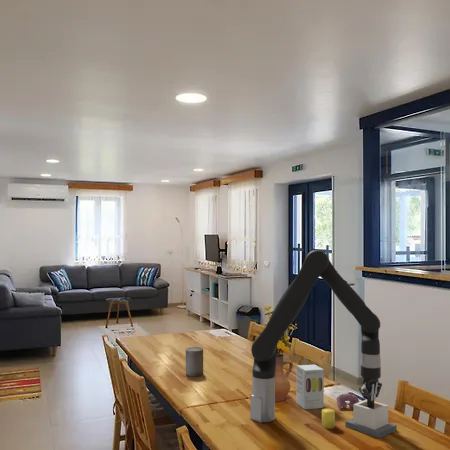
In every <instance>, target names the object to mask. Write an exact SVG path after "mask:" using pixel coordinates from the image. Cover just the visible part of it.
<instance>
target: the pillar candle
mask: <svg viewBox="0 0 450 450" xmlns="http://www.w3.org/2000/svg"><path fill="white" fill-rule="evenodd" d="M186 374H187V375H186ZM202 374H203V375H204V348H203V347H199V346H190V347H187V348H185V375H186V376H188V375H190V376H189V377H199V376H198V375H200V376H203V375H202Z"/></svg>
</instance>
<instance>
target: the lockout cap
mask: <svg viewBox="0 0 450 450" xmlns="http://www.w3.org/2000/svg"><path fill="white" fill-rule="evenodd" d="M335 413H336V411H335V410H334V409H332V408H321V427H322V428H324V429H328V430H329V429H330V430H331V429H334V428H335V426H336V425H335V424H336V423H335V421H336V419H335V417H336V414H335Z"/></svg>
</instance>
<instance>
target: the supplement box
mask: <svg viewBox="0 0 450 450" xmlns="http://www.w3.org/2000/svg"><path fill="white" fill-rule="evenodd" d="M324 380H325V369H324V368H322V367H321V366H318V365H316V364H301V365H299V364H297V365H296V385H295V386H296V388H295V389H296V390H295V391H296V393H295V395H296V396H295V402H296V404H297V405H298V406H300V407H301V408H303V410H311V409H313V410H314V409H324V404H325V403H324V399H325V397H324V393H325V392H324V388H325V387H324V386H325V381H324Z"/></svg>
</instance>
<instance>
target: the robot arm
mask: <svg viewBox="0 0 450 450" xmlns="http://www.w3.org/2000/svg"><path fill="white" fill-rule="evenodd" d="M319 278H321V279H322V280H323V281H324V282H325V283H326V284H327V285H328V287H329V288H330V289H331V290H332V293H334V295H335V296H336V298H337V299H338V300H339V301H340V303H341V304H342V305H343V306H344V307H345V309H346V310H347V311H348V312H349V313H350V314H351V315H352V316H353V317H354V319H355V320H356V321H357V323H358V324H359V325H360V333H361V342H360V343H361V346H360V350H361V355H360V376H361V377H362V378H363V379H362V386H361V387H359V388H358V390H359V392H360V394H361V397H362V398H363V399H364V400H367V407H368V408H371V409H374V402H375V401H376V399H377V398H378V397H379V394H380V392H381V389H382V386H383V383H382V382H379V381H380V380H379V379H380V378H381V377H382V375H381V374H382V367H381V366H382V364H381V363H382V362H381V360H382V359H381V347H380V346H381V344H380V339H379V337H380V336H379V335H380V334H379V331H380V328H381V320H380V318H379V317H378V315H376V314H375V312H373V311H372V310H371V309H370V308H369V306H367V305H366V303H365V301H364V300H363V298H361V296H360V295H359V294H358V293H357V292H356V291H355V289H354V288H353V287H351V285H349V283H348V282H347V281H346V280H345V279H344V278H343V277H342V276H341V275H340V273H339V272H338V270H336V268H335V267H334V266H333V264H332V262H331V261H330V259H329V256H328V254H327V253H326V252H325V251H323V250H321V249H313V250H311V251H310V252H308V253H307V255H306V257H305V258H304V261H303V263H302V266H301V267H300V270H299V272H298V273H297V275H296V276H295V278H294V280H293V281H292V282H291V283H290V284H289V286H288V287H287V289H285V291H284V292H283V294H282V296H281V297H280V299H279V300H278V302H277V304H276V305H275V307H274V310H273V312H272V313H271V315H270V317H269V320H268V322H267V324H266V325H265V328H264V329H263V330H262V331H261V333H260V334H259V336H258V337H256V339H255V340H254V341H253V343H252V345H251V356H252V357H253V364H252V365H253V367H252V375H251V376H252V379H251V380H252V382H251V383H252V384H251V385H252V391H251V393H252V394H251V395H250V417H249V418H250V419H251V420H253V421H256V422H258V423H260V424H262V423H271V422H273V421H275V418H276V417H275V416H276V415H275V414H276V413H275V410H276V406H275V405H276V401H275V399H276V397H275V396H276V390H275V389H276V387H275V386H276V367H277V364H276V363H277V345H278V344H279V342H280V340H281V338H282V336H283V335H284V333H285V332H286V331H287V330H288V328H289V327H290V326H291V325H292V324H293V322H294V321H295V319H297V317H298V315H299V313H300V312H301V310H302V309H303V307H304V305H305V303H306V301H307V299H308V298H309V295H310V292H311V290H312V289H313V287H314V285H315V283H317V281H318V279H319Z"/></svg>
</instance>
